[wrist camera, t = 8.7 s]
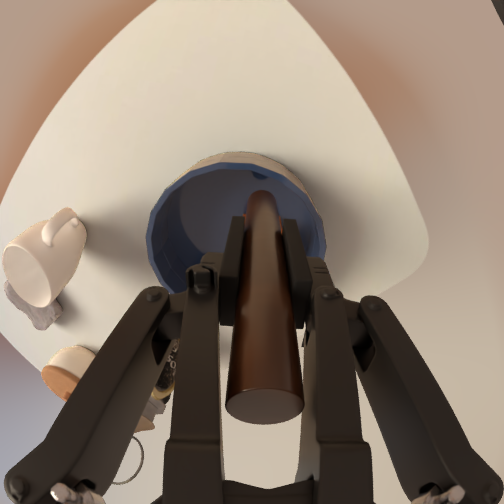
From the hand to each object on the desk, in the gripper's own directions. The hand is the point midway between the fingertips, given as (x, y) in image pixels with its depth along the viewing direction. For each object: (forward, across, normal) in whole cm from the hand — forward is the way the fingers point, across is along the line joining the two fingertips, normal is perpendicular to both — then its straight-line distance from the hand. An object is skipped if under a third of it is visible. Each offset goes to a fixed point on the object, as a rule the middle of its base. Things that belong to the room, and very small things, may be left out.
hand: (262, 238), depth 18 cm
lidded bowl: (+14, -32, -34) cm, 49 cm away
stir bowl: (+13, -2, -5) cm, 15 cm away
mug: (+14, -23, -5) cm, 28 cm away
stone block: (+14, -37, -18) cm, 44 cm away
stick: (+6, 0, 0) cm, 6 cm away
